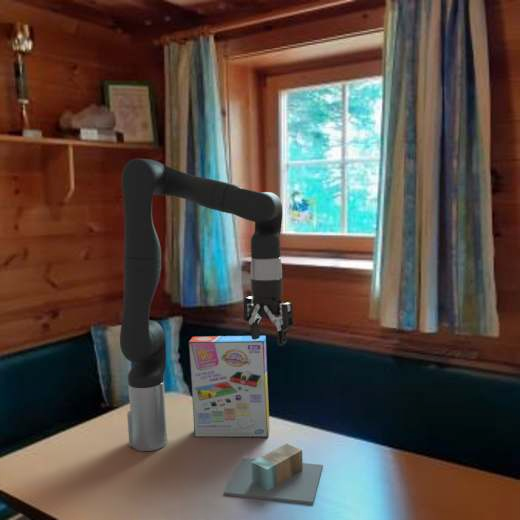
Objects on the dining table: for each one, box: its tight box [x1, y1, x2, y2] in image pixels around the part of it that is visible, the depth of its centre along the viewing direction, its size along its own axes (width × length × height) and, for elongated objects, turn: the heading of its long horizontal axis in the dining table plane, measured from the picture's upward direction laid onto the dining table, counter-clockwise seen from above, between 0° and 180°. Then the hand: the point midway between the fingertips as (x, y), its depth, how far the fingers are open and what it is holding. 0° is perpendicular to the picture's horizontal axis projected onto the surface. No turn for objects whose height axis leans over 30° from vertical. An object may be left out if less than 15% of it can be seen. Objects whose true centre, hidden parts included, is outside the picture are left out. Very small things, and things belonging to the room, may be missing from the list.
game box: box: [188, 335, 270, 438], centre depth 152 cm, size 21×6×27 cm, turn 84°
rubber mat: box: [223, 457, 324, 505], centre depth 129 cm, size 20×16×1 cm
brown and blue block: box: [251, 443, 304, 490], centre depth 129 cm, size 5×5×12 cm
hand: (268, 341), depth 135 cm, fingers open, 8 cm apart
